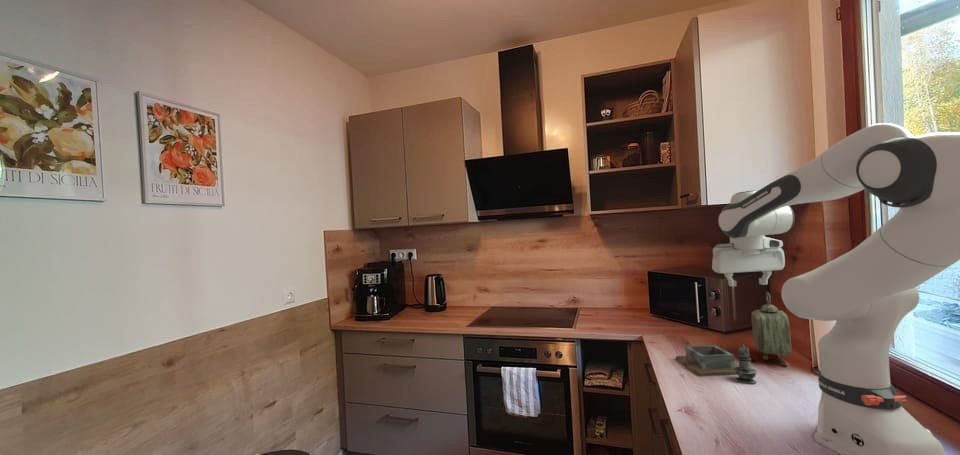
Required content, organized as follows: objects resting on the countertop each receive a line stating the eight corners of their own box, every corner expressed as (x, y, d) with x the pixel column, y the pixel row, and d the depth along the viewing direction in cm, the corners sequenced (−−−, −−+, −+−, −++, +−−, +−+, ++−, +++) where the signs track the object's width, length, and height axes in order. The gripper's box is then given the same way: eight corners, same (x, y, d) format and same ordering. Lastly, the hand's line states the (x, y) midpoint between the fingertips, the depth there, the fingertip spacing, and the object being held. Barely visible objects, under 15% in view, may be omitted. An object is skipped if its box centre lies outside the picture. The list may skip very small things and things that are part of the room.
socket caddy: (748, 374, 118) (746, 357, 118) (699, 376, 119) (697, 359, 119) (718, 357, 134) (717, 342, 134) (676, 359, 135) (674, 344, 135)
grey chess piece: (749, 377, 116) (746, 340, 116) (762, 384, 110) (758, 346, 110) (730, 377, 117) (727, 341, 117) (742, 385, 111) (739, 347, 111)
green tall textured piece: (793, 369, 119) (787, 296, 120) (760, 365, 124) (754, 295, 125) (784, 355, 132) (778, 289, 132) (754, 352, 137) (748, 288, 137)
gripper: (719, 245, 108) (720, 289, 109) (788, 241, 107) (789, 285, 108) (707, 243, 114) (708, 284, 115) (772, 239, 113) (773, 281, 114)
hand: (747, 285), depth 112 cm, fingers open, 8 cm apart
